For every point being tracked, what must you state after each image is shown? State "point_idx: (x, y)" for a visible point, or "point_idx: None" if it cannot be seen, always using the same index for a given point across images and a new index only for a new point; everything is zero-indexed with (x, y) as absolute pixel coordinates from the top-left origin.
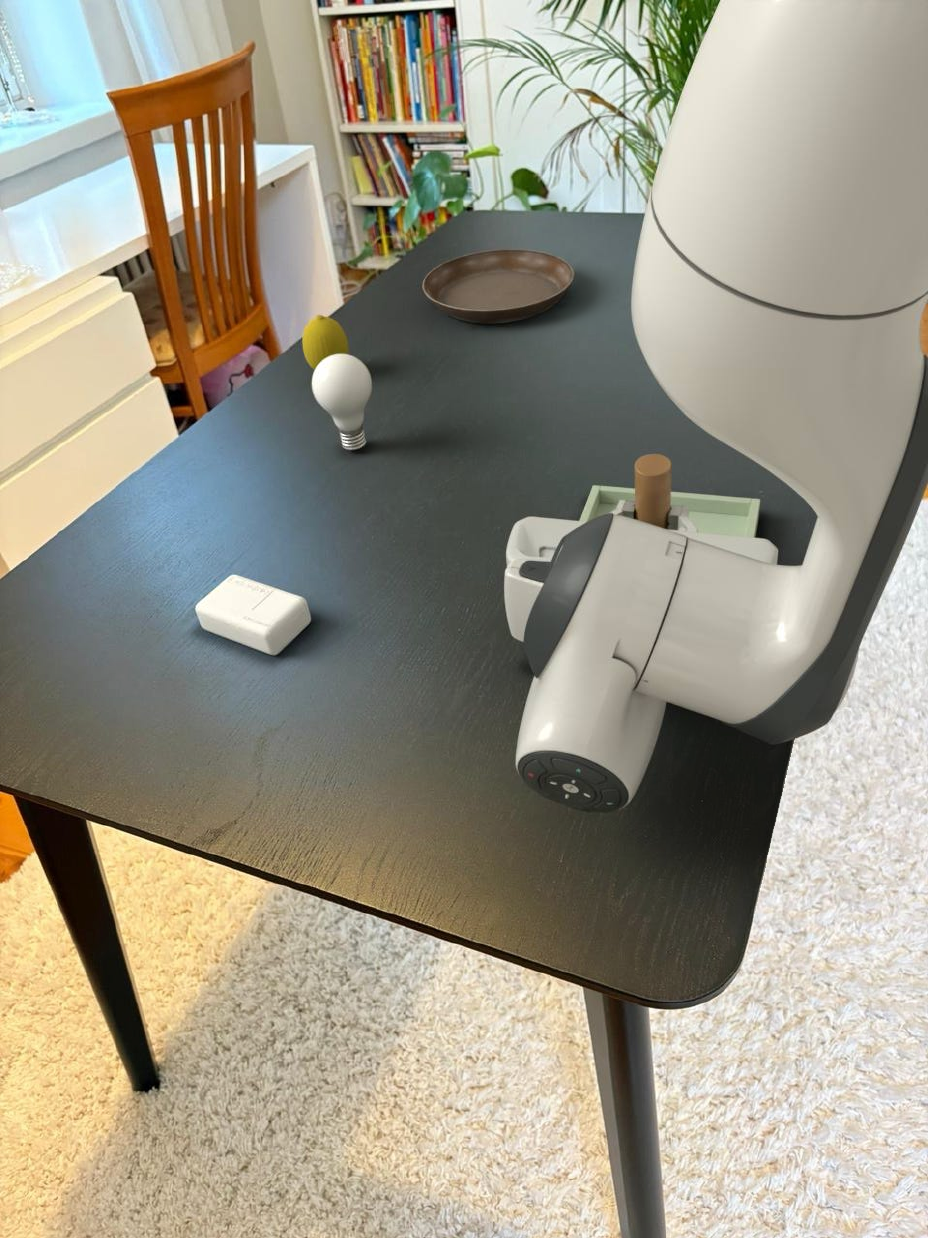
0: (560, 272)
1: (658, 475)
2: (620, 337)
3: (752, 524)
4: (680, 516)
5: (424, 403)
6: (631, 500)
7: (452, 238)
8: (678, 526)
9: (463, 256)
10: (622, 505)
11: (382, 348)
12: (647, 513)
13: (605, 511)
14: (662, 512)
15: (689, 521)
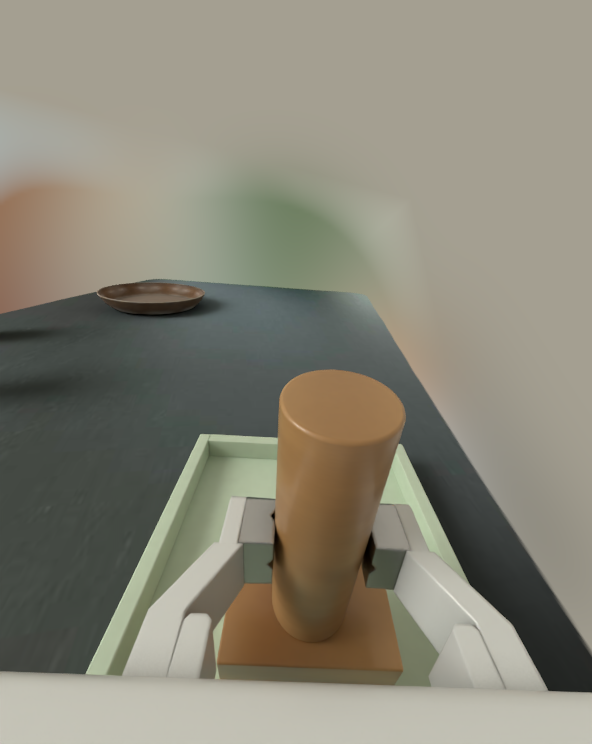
0: (197, 295)
1: (381, 441)
2: (234, 324)
3: (416, 484)
4: (414, 554)
5: (54, 356)
6: (249, 452)
7: None
8: (403, 578)
9: (135, 283)
10: (239, 519)
11: (48, 323)
12: (320, 556)
13: (216, 469)
14: (362, 546)
15: (456, 579)
